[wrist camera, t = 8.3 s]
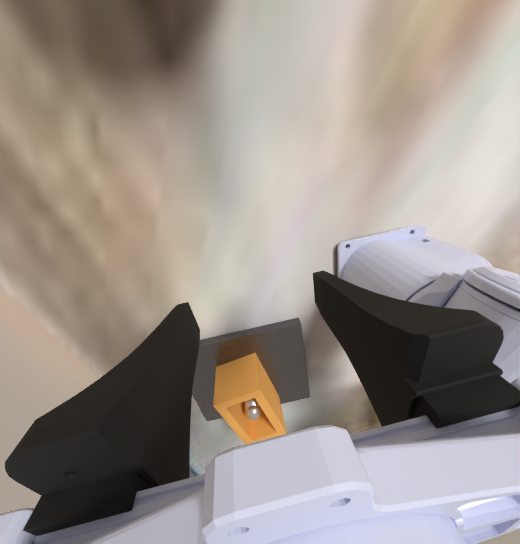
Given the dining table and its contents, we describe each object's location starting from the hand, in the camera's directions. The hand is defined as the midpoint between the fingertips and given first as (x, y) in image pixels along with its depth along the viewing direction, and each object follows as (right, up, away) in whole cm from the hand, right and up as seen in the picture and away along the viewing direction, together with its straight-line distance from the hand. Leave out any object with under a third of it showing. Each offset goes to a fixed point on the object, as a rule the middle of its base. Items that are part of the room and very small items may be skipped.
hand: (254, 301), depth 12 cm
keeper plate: (-1, -12, +18) cm, 22 cm away
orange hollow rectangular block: (-1, -14, +17) cm, 22 cm away
